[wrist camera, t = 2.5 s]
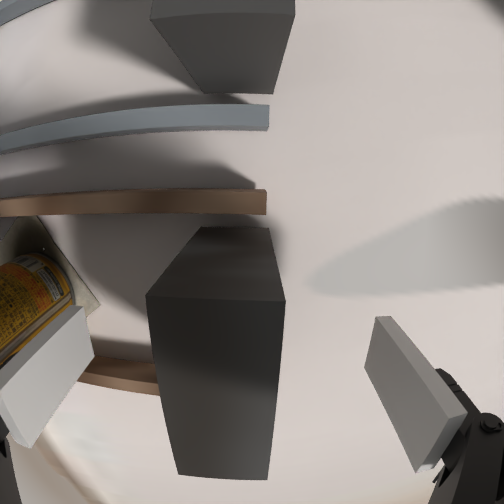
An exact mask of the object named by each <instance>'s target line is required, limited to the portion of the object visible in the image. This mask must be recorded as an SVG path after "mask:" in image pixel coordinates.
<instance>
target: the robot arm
mask: <svg viewBox="0 0 504 504" xmlns="http://www.w3.org/2000/svg"><path fill="white" fill-rule="evenodd" d="M93 358H94V352H93V348H92V344H91V339H90V335H89V330H88V326H87V321H86V316H85V311H84V306H76V305H70V306H69V307H68V308H66V309H65V310H64V311H63V312H62V313H61V314H60V315H58V316H57V317H56V318H55V319H54V320H53V321H52V322H51V323H49V324H48V325H47V326H46V327H45V328H44V329H43V330H42V331H41V332H40V333H38V334H37V335H36V336H35V337H34V338H33V339H32V340H31V341H30V342H29V343H28V344H27V345H26V346H24V347H23V348H22V349H21V350H20V351H18V352H16V353H14V354H12V355H11V356H9V357H8V358H7V359H6V360H5V361H4V362H3V364H1V365H0V504H22V502H21V499H20V495H19V491H18V487H17V483H16V478H15V474H14V469H13V464H12V459H11V452H10V446H9V442H8V440H7V438H6V436H7V434H8V433H9V432H10V433H11V435H12V437H13V438H14V440H15V442H16V443H18V444H20V445H23V446H25V447H27V448H29V449H31V447H32V446H33V444H34V443H35V441H36V440H37V438H38V437H39V435H40V434H41V432H42V430H43V429H44V427H45V426H46V424H47V423H48V421H49V420H50V418H51V417H52V415H53V414H54V413H55V411H56V410H57V408H58V407H59V405H60V404H61V402H62V401H63V399H64V398H65V397H66V395H67V394H68V392H69V391H70V389H71V388H72V387H73V385H74V384H75V382H76V381H77V380H78V378H79V377H80V375H81V374H82V373H83V371H84V370H85V369H86V367H87V366H88V364H89V363H90V362H91V360H92V359H93ZM364 368H365V370H366V372H367V374H368V376H369V378H370V380H371V382H372V384H373V386H374V388H375V390H376V392H377V394H378V396H379V398H380V400H381V402H382V404H383V406H384V408H385V410H386V412H387V414H388V416H389V418H390V420H391V422H392V424H393V426H394V428H395V430H396V432H397V434H398V437H399V439H400V441H401V443H402V445H403V447H404V449H405V451H406V454H407V456H408V458H409V460H410V462H411V464H412V467H413V469H414V471H415V473H419V472H423V471H426V470H429V469H432V468H434V467H435V466H436V464H437V463H438V461H439V460H440V458H442V460H443V462H444V464H445V465H444V466H443V468H442V469H441V471H440V472H439V473H438V475H437V476H436V477H435V479H434V480H433V483H435V482H436V481H437V483H436V485H435V488H434V491H433V493H432V496H431V498H430V500H429V503H428V504H504V423H503V422H502V420H501V419H500V418H499V417H497V416H496V415H493V414H491V413H480V411H479V410H478V409H477V408H476V406H475V405H474V404H473V402H472V401H471V400H470V399H469V397H468V396H467V395H466V394H465V392H464V391H462V389H461V387H460V386H459V385H457V382H456V381H455V380H454V379H453V377H452V376H451V375H450V374H448V373H447V372H445V371H444V370H442V369H441V368H439V369H434V368H433V367H432V365H431V364H430V363H429V362H428V360H427V359H426V358H425V357H424V355H423V354H422V353H421V352H420V350H419V349H418V348H417V347H416V346H415V344H414V343H413V342H412V341H411V339H410V338H409V337H408V336H407V335H406V333H405V332H404V331H403V330H402V329H401V327H400V326H399V325H398V324H397V323H396V322H395V320H394V319H393V318H392V317H391V316H382V317H376V318H375V323H374V328H373V332H372V337H371V341H370V346H369V350H368V354H367V358H366V362H365V366H364ZM437 479H438V480H437Z"/></svg>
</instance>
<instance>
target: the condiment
mask: <svg viewBox="0 0 504 504" xmlns="http://www.w3.org/2000/svg"><path fill="white" fill-rule="evenodd" d="M43 248H44V249H45V250H43ZM70 305H76V306H84V311H85V316H86V317H87V316H88V315H89V314H91V313H92V312H93V311H94V310H96V309H97V308H98V307H99V306H100V304H99V302H98V301H97V300H96V299H95V297H94V296H93V295H92V293H91V292H90V291H89V289H88V288H87V287H86V285H85V284H84V282H83V281H82V280H81V279H80V278H79V276H78V275H77V273H76V272H75V270H74V269H73V267H72V266H71V265H70V264H69V263H68V261H67V259H66V258H65V257H64V256H63V254H62V253H61V251H60V250H59V249H58V248H57V247H56V245H55V244H54V243H53V241H52V239H51V237H50V236H49V234H48V233H47V231H46V229H45V228H44V226H43V225H42V223H41V222H40V220H39V219H38V218H37V216H36V215H33V216H18V217H17V219H16V220H15V221H14V223H13V224H12V226H11V228H10V229H9V230H8V232H7V233H6V235H5V236H4V239H3V240H2V241H1V242H0V365H1V364H3V362H4V361H5V360H6V359H7V358H8V357H9V356H11V355H12V354H14V353H16V352H18V351H20V350H21V349H22V348H23V347H24V346H26V345H27V344H28V343H29V342H30V341H31V340H32V339H33V338H34V337H35V336H36V335H37V334H38V333H40V332H41V331H42V330H43V329H44V328H45V327H46V326H47V325H48V324H49V323H51V322H52V321H53V320H54V319H55V318H56V317H57V316H58V315H60V314H61V313H62V312H63V311H64V310H65V309H66V308H68V307H69V306H70Z"/></svg>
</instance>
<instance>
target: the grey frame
mask: <svg viewBox="0 0 504 504" xmlns="http://www.w3.org/2000/svg"><path fill="white" fill-rule="evenodd" d="M51 1H53V0H2V1H1V2H0V25H2V24H4V23H6V22H8V21H10V20H11V19H13V18H15V17H17V16H19V15H21V14H24V13H26V12H28V11H30V10H32V9H34V8H37V7H39V6H41V5H44V4H46V3H48V2H51ZM294 18H295V0H153V2H152V8H151V14H150V21H151V22H152V23H153V24H154V26H155V27H156V28H157V30H158V31H159V32H160V34H161V35H162V36H163V38H164V39H165V40H166V42H167V43H168V44H169V46H170V47H171V48H172V50H173V51H174V53H175V54H176V55H177V57H178V58H179V59H180V61H181V62H182V63H183V65H184V66H185V68H186V69H187V70H188V72H189V73H190V75H191V76H192V77H193V79H194V80H195V82H196V83H197V84H198V86H199V87H200V89H201V90H202V92H203V93H204V94H214V93H248V94H273V92H274V88H275V85H276V81H277V78H278V74H279V70H280V67H281V63H282V60H283V56H284V53H285V49H286V46H287V42H288V38H289V35H290V32H291V28H292V25H293V21H294ZM268 127H269V105H259V104H199V105H177V106H162V107H149V108H139V109H129V110H121V111H113V112H106V113H99V114H92V115H86V116H80V117H75V118H69V119H64V120H59V121H54V122H49V123H45V124H40V125H36V126H32V127H28V128H24V129H20V130H16V131H13V132H9V133H5V134H2V135H0V155H2V154H6V153H11V152H15V151H20V150H25V149H30V148H35V147H40V146H46V145H51V144H57V143H63V142H70V141H77V140H84V139H92V138H100V137H109V136H118V135H129V134H141V133H155V132H174V131H209V130H237V131H267V130H268Z"/></svg>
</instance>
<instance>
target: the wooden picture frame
mask: <svg viewBox="0 0 504 504" xmlns="http://www.w3.org/2000/svg"><path fill="white" fill-rule="evenodd" d="M266 201H267V192H266V190H264V189H223V188H165V189H124V190H100V191H81V192H65V193H52V194H39V195H28V196H17V197H8V198H0V217H11V216H33V215H61V214H104V213H207V214H252V215H266ZM145 297H146V306H147V315H148V323H149V330H150V338H151V345H152V352H153V358H154V364H152V363H143V362H135V361H128V360H121V359H114V358H108V357H101V356H95V355H94V358H93V359H92V360H91V362H90V363H89V364H88V366H87V367H86V369H85V370H84V371H83V373H82V374H81V375H80V377H79V378H78V380H77V381H78V382H83V383H87V384H92V385H97V386H102V387H107V388H112V389H118V390H124V391H130V392H136V393H142V394H150V395H157V396H160V398H161V403H162V408H163V413H164V417H165V422H166V426H167V431H168V435H169V440H170V444H171V448H172V452H173V456H174V460H175V463H176V467H177V471H178V474H179V475H186V476H195V477H205V478H218V479H235V480H267V478H268V470H269V463H270V455H271V447H272V438H273V430H274V421H275V412H276V403H277V393H278V383H279V373H280V363H281V352H282V341H283V329H284V317H285V304H286V300H285V296H284V291H283V287H282V283H281V278H280V274H279V270H278V266H277V261H276V257H275V253H274V249H273V245H272V240H271V236H270V232H269V228H244V227H201V228H200V229H199V230H198V231H197V232H196V233H195V235H194V236H193V237H192V238H191V239H190V241H189V242H188V243H187V244H186V245H185V247H184V248H183V249H182V250H181V252H180V253H179V254H178V255H177V256H176V258H175V259H174V260H173V261H172V263H171V264H170V265H169V266H168V268H167V269H166V270H165V271H164V272H163V274H162V275H161V276H160V277H159V279H158V280H157V281H156V283H155V284H154V285H153V286H152V288H151V289H150V290H149V291H148V293H147V294H146V295H145Z"/></svg>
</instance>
